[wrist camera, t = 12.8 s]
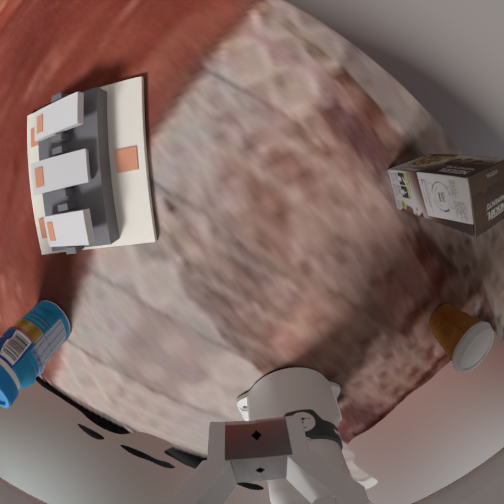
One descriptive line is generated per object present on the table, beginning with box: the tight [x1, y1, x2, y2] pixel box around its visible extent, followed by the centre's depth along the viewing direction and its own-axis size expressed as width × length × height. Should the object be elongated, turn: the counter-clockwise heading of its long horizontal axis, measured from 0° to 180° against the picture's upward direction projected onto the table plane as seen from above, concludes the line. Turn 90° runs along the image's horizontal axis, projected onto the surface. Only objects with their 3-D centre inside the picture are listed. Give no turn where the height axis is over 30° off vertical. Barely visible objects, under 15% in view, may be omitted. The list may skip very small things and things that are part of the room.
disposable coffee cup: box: [429, 304, 494, 373], centre depth 37 cm, size 10×10×12 cm
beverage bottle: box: [0, 300, 70, 408], centre depth 29 cm, size 8×8×20 cm
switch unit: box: [27, 76, 157, 255], centre depth 29 cm, size 22×20×6 cm
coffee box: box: [388, 154, 504, 237], centre depth 27 cm, size 9×6×16 cm
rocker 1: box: [35, 92, 84, 141], centre depth 24 cm, size 4×8×1 cm, turn 94°
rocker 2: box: [31, 149, 91, 195], centre depth 26 cm, size 4×8×1 cm, turn 94°
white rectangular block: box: [44, 208, 95, 247], centre depth 28 cm, size 4×8×1 cm, turn 94°
